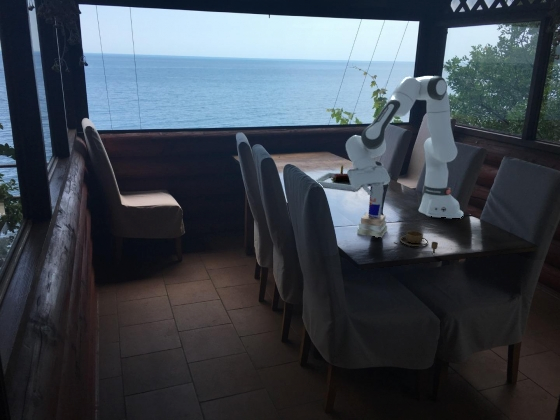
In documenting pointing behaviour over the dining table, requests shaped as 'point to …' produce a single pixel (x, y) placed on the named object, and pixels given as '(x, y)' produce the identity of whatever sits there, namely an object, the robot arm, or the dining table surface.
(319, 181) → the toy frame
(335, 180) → the fire station toy set
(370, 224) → the stacked square slabs
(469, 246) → the dining table surface
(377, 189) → the beverage can
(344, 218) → the dining table surface
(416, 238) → the place setting
